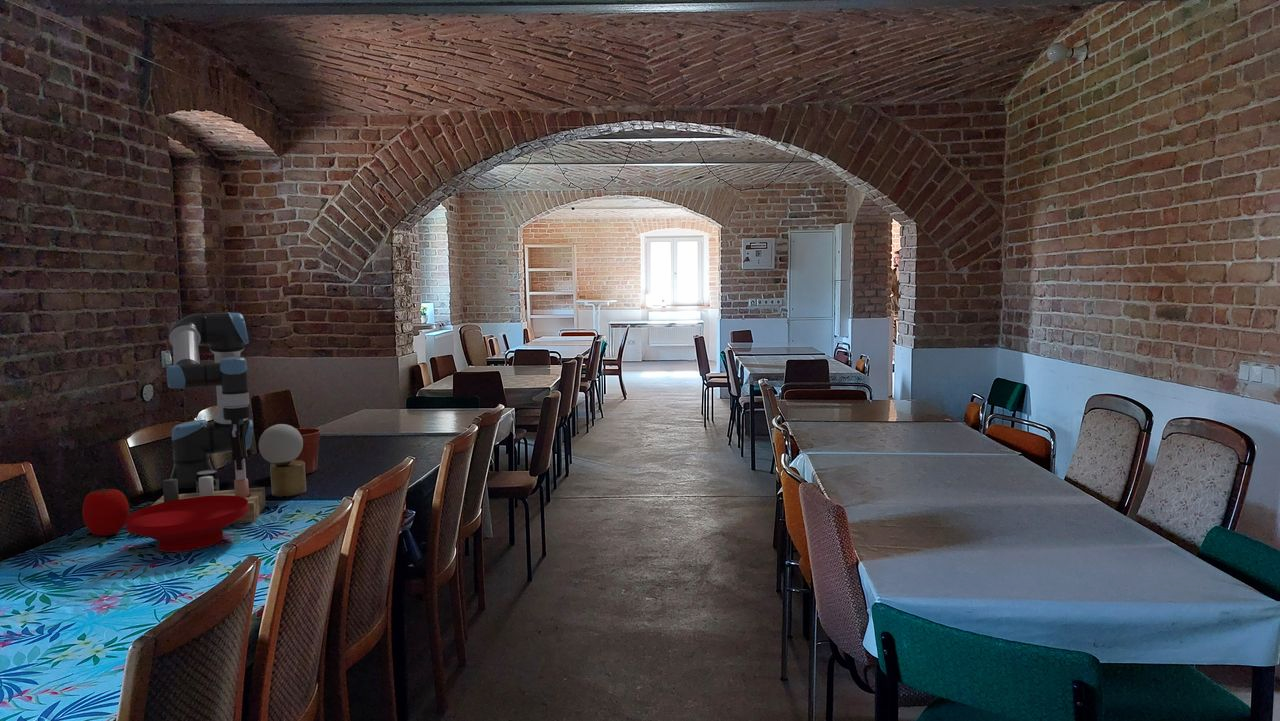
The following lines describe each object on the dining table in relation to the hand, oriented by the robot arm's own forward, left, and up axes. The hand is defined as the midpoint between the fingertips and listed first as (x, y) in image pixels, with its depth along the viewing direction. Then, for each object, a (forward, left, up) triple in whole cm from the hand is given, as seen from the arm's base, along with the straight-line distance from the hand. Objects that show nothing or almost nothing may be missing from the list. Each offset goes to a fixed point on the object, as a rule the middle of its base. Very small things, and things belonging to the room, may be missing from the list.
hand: (241, 479), depth 247 cm
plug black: (0, -20, -8) cm, 21 cm away
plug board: (0, -10, -12) cm, 15 cm away
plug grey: (0, -10, -8) cm, 13 cm away
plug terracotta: (0, 0, -9) cm, 9 cm away
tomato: (+8, -35, -12) cm, 38 cm away
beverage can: (-14, -13, -12) cm, 22 cm away
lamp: (-23, +9, -12) cm, 27 cm away
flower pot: (-58, +10, -12) cm, 60 cm away
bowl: (+26, -9, -12) cm, 30 cm away
